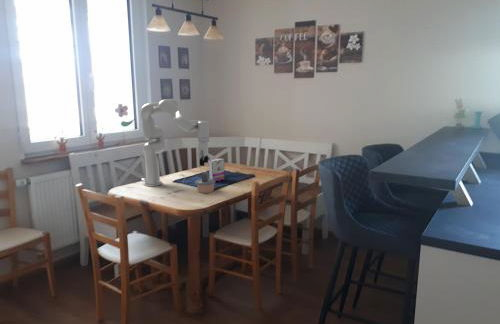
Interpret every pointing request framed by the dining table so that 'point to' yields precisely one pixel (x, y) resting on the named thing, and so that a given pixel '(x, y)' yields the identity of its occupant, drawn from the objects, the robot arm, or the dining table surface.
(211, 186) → the bowl
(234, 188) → the dining table surface
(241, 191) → the dining table surface
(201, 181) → the lid
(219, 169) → the candy bar box
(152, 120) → the robot arm
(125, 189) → the dining table surface
